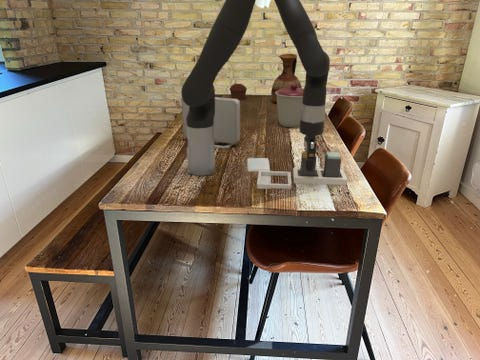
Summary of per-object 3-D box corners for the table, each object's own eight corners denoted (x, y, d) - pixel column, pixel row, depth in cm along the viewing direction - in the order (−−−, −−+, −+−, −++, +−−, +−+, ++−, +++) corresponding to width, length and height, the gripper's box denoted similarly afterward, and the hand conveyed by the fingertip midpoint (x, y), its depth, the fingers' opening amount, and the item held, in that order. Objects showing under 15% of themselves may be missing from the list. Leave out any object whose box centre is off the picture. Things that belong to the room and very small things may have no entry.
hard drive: (247, 157, 137) (247, 170, 126) (268, 158, 137) (270, 170, 126) (247, 161, 138) (247, 174, 127) (268, 162, 138) (270, 174, 127)
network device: (181, 142, 157) (178, 97, 149) (191, 136, 165) (188, 93, 156) (234, 149, 149) (234, 102, 140) (242, 143, 156) (242, 97, 148)
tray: (256, 190, 114) (256, 184, 114) (258, 176, 124) (258, 170, 123) (291, 191, 113) (291, 185, 113) (290, 177, 123) (290, 171, 122)
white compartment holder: (293, 185, 117) (294, 177, 116) (292, 175, 125) (293, 167, 123) (346, 188, 116) (347, 179, 114) (342, 177, 123) (343, 169, 122)
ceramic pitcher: (266, 104, 224) (268, 54, 212) (276, 98, 241) (278, 51, 229) (297, 107, 217) (300, 55, 205) (304, 100, 234) (308, 52, 222)
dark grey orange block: (300, 180, 118) (302, 155, 115) (300, 175, 122) (301, 150, 119) (314, 181, 118) (316, 156, 114) (313, 175, 122) (315, 151, 118)
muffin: (249, 98, 241) (249, 83, 237) (243, 101, 232) (243, 86, 228) (233, 96, 245) (232, 82, 241) (226, 100, 236) (226, 84, 232)
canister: (280, 131, 172) (282, 87, 164) (269, 121, 189) (271, 80, 180) (315, 129, 176) (319, 85, 167) (302, 119, 192) (304, 79, 183)
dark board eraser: (324, 181, 118) (327, 156, 114) (323, 176, 122) (325, 151, 118) (338, 182, 117) (341, 157, 113) (336, 176, 121) (339, 152, 117)
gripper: (299, 112, 118) (296, 157, 125) (301, 124, 105) (297, 174, 112) (322, 112, 117) (317, 158, 124) (327, 124, 105) (321, 175, 111)
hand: (308, 165), depth 118 cm, fingers open, 8 cm apart
